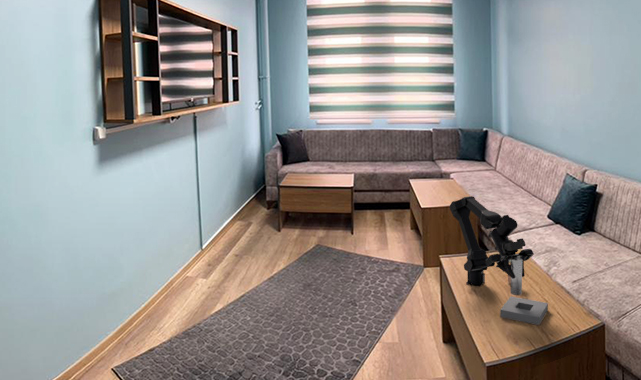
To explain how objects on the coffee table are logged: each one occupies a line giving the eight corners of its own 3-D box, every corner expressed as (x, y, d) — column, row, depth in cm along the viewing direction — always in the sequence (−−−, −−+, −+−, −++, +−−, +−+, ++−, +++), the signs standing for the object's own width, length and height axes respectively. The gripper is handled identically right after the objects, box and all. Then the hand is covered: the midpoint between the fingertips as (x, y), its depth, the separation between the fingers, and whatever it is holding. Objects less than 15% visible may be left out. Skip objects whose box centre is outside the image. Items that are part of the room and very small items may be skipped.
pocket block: (500, 316, 196) (500, 309, 195) (510, 303, 207) (510, 296, 206) (539, 325, 188) (539, 317, 187) (547, 310, 199) (548, 303, 198)
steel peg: (509, 294, 200) (510, 260, 197) (512, 290, 203) (513, 256, 200) (520, 296, 198) (520, 261, 195) (522, 292, 201) (523, 258, 198)
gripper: (490, 235, 197) (507, 272, 189) (531, 229, 202) (550, 264, 194) (478, 248, 206) (494, 284, 198) (518, 242, 211) (535, 277, 203)
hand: (518, 277), depth 198 cm, fingers closed on steel peg, 4 cm apart
